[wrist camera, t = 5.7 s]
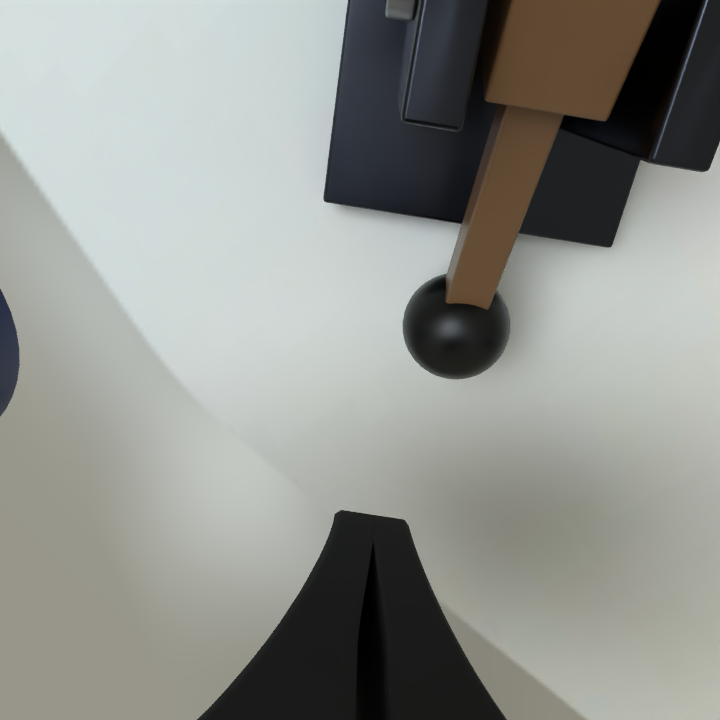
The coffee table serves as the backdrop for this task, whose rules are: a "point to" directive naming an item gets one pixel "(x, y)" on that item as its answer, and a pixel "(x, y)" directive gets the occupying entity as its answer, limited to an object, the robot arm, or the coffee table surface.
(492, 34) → the lever
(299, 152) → the coffee table surface
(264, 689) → the robot arm
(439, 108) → the bracket
